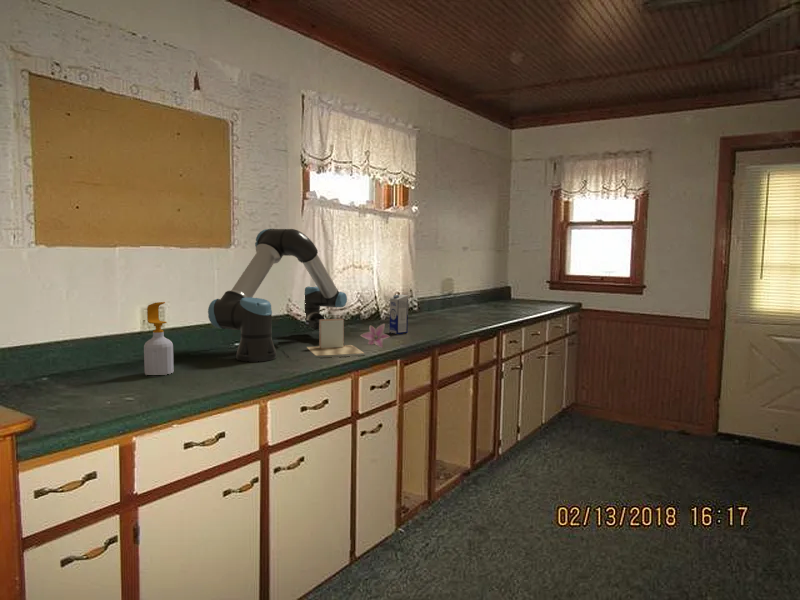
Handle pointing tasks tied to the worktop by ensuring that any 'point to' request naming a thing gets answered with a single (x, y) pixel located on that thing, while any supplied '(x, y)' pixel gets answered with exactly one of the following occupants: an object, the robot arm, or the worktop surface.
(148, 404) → the worktop surface
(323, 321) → the tile
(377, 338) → the lily
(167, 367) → the soap bottle
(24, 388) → the worktop surface
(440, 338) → the worktop surface
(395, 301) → the milk carton
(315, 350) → the board
